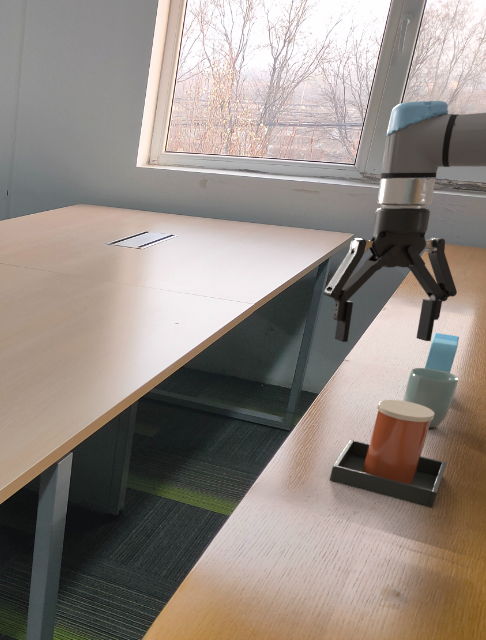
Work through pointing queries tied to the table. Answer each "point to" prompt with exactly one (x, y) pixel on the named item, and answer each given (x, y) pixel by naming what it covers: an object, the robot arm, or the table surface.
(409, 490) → the tray
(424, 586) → the table surface
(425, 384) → the cup
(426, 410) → the orange lidded canister
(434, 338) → the blue upright block
